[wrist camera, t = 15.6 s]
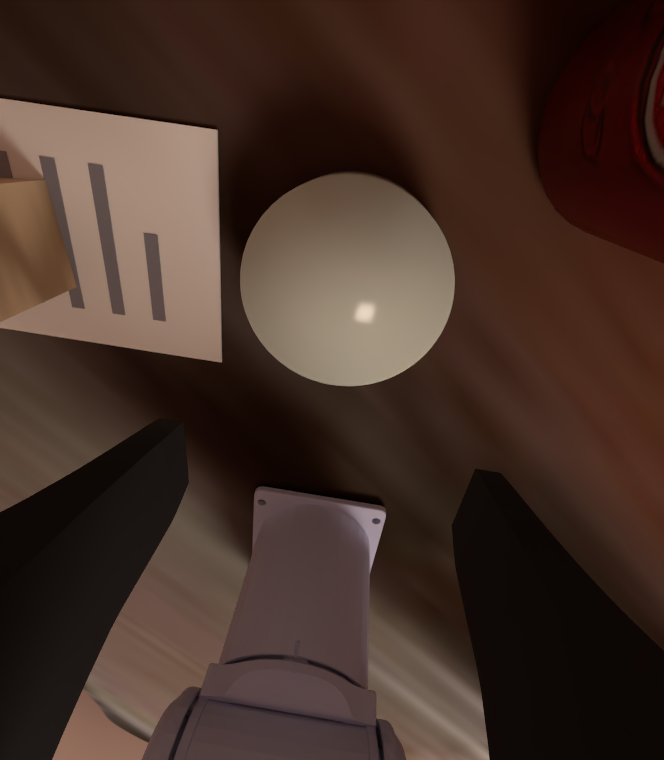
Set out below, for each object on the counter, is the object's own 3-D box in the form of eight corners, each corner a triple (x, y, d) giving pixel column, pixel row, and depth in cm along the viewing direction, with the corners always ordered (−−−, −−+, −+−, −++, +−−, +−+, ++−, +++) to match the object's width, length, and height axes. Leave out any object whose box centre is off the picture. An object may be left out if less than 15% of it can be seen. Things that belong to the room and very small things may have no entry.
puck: (421, 364, 19) (428, 397, 17) (259, 343, 20) (242, 373, 17) (464, 182, 15) (482, 189, 13) (259, 159, 16) (237, 162, 13)
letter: (222, 361, 20) (221, 363, 20) (-46, 319, 20) (-49, 320, 20) (218, 130, 15) (216, 129, 15) (-140, 78, 15) (-144, 77, 15)
